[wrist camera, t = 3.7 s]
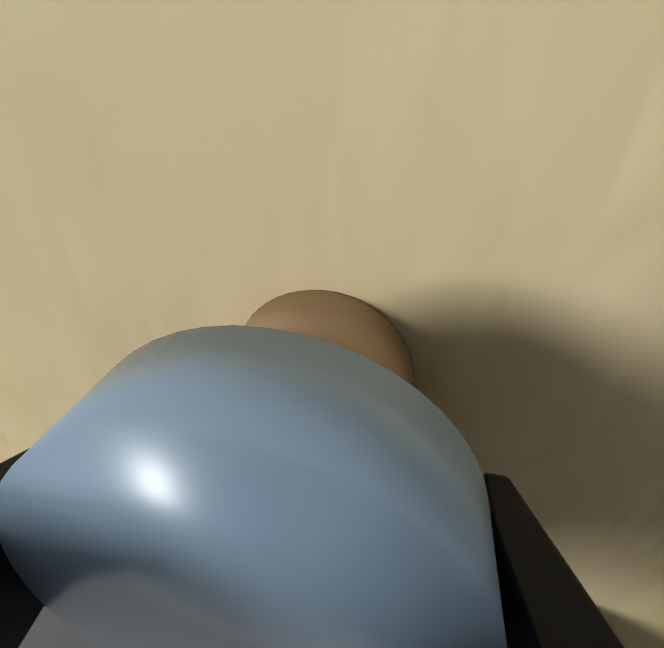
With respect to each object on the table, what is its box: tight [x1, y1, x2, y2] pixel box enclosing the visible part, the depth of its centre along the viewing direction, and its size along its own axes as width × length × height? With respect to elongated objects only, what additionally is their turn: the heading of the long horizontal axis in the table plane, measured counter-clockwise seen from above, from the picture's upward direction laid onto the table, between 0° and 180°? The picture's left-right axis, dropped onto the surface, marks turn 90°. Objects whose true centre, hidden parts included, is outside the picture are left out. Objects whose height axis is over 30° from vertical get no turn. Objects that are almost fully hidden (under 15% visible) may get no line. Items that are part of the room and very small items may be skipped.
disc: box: [0, 325, 507, 648], centre depth 7 cm, size 7×7×2 cm
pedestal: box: [245, 290, 414, 386], centre depth 9 cm, size 4×4×4 cm
